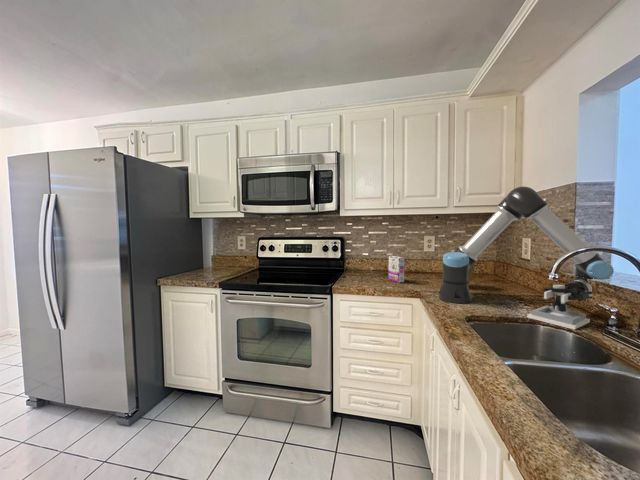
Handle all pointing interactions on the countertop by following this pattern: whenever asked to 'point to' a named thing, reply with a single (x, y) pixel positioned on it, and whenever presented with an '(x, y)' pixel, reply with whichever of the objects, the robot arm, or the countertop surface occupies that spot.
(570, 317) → the tray
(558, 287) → the push button
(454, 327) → the countertop surface
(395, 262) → the candy bar box
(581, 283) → the robot arm
